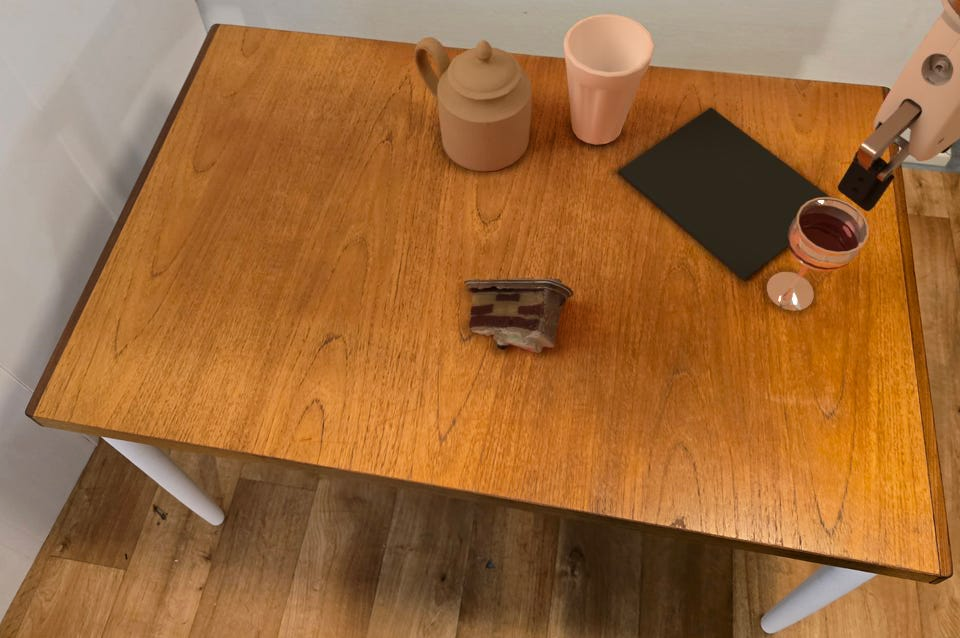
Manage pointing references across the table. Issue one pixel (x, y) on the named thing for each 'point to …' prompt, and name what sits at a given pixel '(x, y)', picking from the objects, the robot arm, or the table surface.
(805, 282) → the wineglass
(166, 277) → the table surface
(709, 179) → the mat
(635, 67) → the cup
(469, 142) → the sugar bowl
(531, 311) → the checkered cake slice
